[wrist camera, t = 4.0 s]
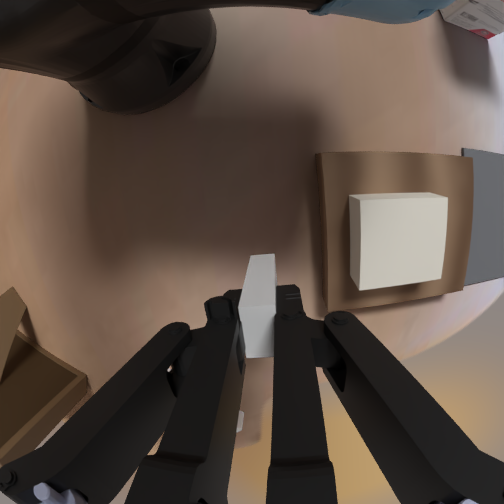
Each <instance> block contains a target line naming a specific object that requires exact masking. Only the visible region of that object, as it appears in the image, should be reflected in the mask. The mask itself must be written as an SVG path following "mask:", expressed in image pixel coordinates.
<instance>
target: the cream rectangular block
mask: <svg viewBox="0 0 504 504" xmlns="http://www.w3.org/2000/svg"><path fill="white" fill-rule="evenodd" d="M349 211H350V276H351V278H352V279H353V281H354V283H355V284H356V286H357V288H358V289H359V291H360V290H368V289H376V288H383V287H391V286H398V285H405V284H411V283H418V282H424V281H431V280H437V279H441V275H442V268H443V261H444V252H445V242H446V230H447V211H448V197H444V196H441V195H437V194H433V193H430V192H427V193H382V194H359V195H349Z"/></svg>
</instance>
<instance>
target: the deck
mask: <svg viewBox="0 0 504 504" xmlns="http://www.w3.org/2000/svg"><path fill="white" fill-rule="evenodd" d="M315 156H316V166H317V177H318V189H319V202H320V218H321V238H322V269H323V299H324V302H325V305H326V308H327V311H328V312H331V311H340V310H348V309H356V308H364V307H371V306H378V305H385V304H391V303H398V302H404V301H410V300H416V299H421V298H427V297H432V296H437V295H442V294H447V293H452V292H457V291H461V290H463V287H464V282H465V276H466V271H467V265H468V258H469V251H470V242H471V233H472V221H473V200H474V172H473V158H472V157H464V156H454V155H443V154H429V153H411V152H328V153H318V154H315ZM427 192H430V193H433V194H437V195H441V196H444V197H448V211H447V230H446V242H445V252H444V261H443V268H442V275H441V279H437V280H431V281H424V282H418V283H411V284H405V285H398V286H391V287H383V288H376V289H368V290H360V291H359V289H358V288H357V286H356V284H355V283H354V281H353V279H352V278H351V276H350V211H349V195H359V194H382V193H427Z"/></svg>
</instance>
